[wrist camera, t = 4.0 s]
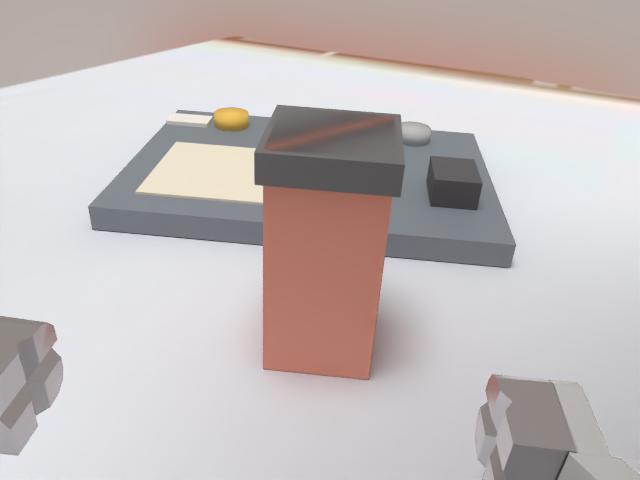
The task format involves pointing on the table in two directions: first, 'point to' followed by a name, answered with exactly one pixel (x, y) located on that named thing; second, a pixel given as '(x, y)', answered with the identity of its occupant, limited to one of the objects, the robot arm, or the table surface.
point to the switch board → (247, 199)
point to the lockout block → (325, 234)
